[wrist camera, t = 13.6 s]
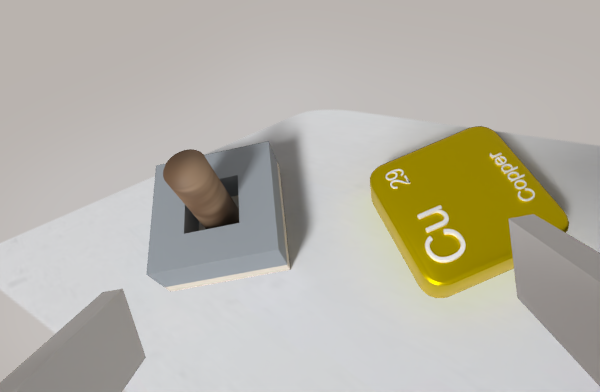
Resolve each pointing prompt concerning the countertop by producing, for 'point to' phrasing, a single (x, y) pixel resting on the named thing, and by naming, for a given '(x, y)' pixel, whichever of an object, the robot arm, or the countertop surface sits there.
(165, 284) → the socket block
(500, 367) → the countertop surface
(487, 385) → the countertop surface
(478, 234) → the element tile
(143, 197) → the countertop surface
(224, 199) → the pin
